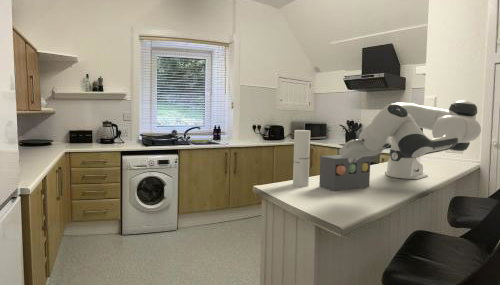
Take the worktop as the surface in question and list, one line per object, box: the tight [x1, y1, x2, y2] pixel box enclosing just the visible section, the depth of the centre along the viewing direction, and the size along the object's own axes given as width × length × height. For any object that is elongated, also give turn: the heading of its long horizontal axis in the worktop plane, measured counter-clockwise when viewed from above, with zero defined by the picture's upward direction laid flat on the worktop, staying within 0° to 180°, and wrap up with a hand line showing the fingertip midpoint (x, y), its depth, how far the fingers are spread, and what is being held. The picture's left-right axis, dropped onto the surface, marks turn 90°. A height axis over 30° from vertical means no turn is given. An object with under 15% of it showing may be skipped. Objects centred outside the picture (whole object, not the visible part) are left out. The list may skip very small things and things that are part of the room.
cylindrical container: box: [292, 129, 311, 188], centre depth 154 cm, size 7×7×25 cm
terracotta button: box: [336, 165, 346, 175], centre depth 145 cm, size 4×3×4 cm
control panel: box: [318, 154, 372, 192], centre depth 153 cm, size 22×9×14 cm, turn 120°
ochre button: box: [362, 162, 368, 172], centre depth 154 cm, size 4×3×4 cm
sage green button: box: [349, 164, 356, 173], centre depth 150 cm, size 4×3×4 cm
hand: (351, 161), depth 138 cm, fingers closed
